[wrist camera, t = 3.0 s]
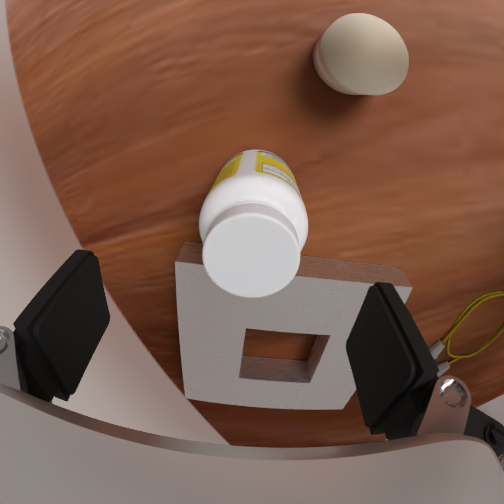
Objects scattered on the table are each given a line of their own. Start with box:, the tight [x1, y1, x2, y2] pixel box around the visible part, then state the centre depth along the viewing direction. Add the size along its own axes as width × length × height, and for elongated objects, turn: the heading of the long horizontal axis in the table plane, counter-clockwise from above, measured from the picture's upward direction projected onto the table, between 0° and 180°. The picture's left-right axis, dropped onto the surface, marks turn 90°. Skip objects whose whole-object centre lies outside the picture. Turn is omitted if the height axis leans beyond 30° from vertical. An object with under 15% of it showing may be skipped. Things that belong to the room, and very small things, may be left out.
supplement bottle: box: [199, 150, 308, 298], centre depth 16 cm, size 5×5×10 cm
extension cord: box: [429, 291, 504, 377], centre depth 27 cm, size 12×16×2 cm
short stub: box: [313, 13, 409, 95], centre depth 14 cm, size 5×5×4 cm
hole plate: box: [175, 241, 413, 410], centre depth 26 cm, size 18×18×3 cm
